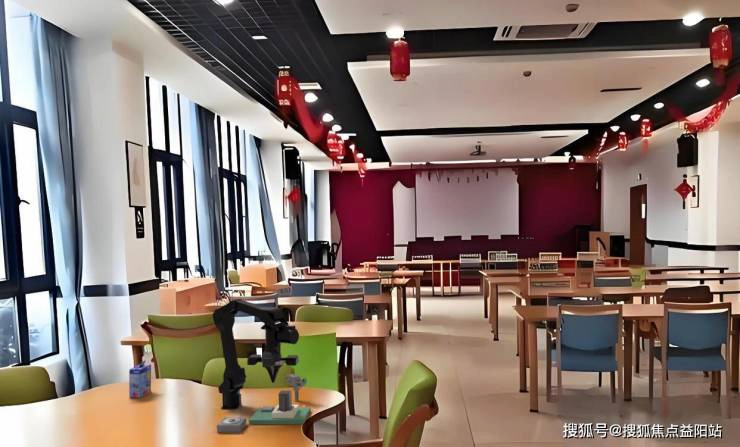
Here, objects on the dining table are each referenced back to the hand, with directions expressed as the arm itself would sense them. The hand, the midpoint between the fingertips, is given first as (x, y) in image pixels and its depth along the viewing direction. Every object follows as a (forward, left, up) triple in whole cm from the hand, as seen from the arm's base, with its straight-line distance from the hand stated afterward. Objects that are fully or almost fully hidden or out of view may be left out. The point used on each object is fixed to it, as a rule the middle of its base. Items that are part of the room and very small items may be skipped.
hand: (273, 382), depth 211 cm
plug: (+5, -4, -11) cm, 12 cm away
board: (+3, -4, -12) cm, 13 cm away
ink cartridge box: (-66, +26, -12) cm, 72 cm away
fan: (-12, -15, -12) cm, 22 cm away
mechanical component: (+5, +16, -12) cm, 21 cm away
